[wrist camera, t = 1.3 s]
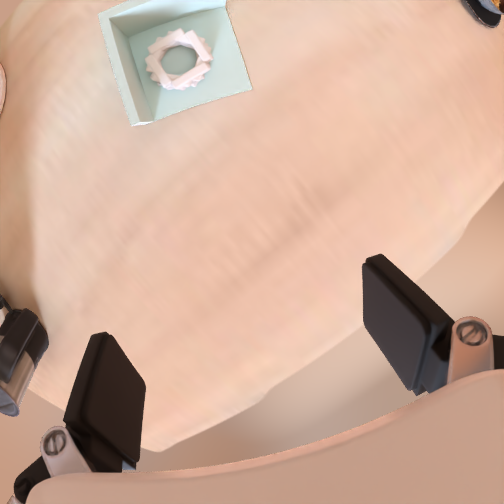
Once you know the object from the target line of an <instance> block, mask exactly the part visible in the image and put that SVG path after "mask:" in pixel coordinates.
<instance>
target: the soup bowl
mask: <svg viewBox="0 0 504 504" xmlns="http://www.w3.org/2000/svg"><path fill="white" fill-rule="evenodd" d="M466 2H467V3H468V5H469V6H470V8H471V9H472V10H473V12H474V13H475V15H476V16H477V18H478V19H479V20H480V21H481V22H483V23H484V24H486V25H487V26H489V27H491V28H495V27H497V26H498V25H499V23H500V20H501V14H503V15H504V0H466Z"/></svg>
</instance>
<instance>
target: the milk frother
mask: <svg viewBox="0 0 504 504" xmlns="http://www.w3.org/2000/svg"><path fill="white" fill-rule="evenodd" d="M3 306H5V307H6V308H7V310H8V311H9V312H8V313H7V315H6V317H5V320H4V322H3V323H2V325H1V327H0V412H1V413H3V414H5V415H8V416H12V417H14V416H18V415H19V407H20V404H21V402H22V399H23V397H24V395H25V392H26V390H27V388H28V385H29V383H30V381H31V378H32V376H33V373H34V371H35V369H36V367H37V365H38V362H39V360H40V359H41V357H42V356H43V354H44V352H45V351H46V350H47V348H48V345H49V341H48V337H47V334H46V332H45V330H44V329H43V327H42V326H41V325H40V324H39V323H38V317H37V316H36V315H35V314H34V313H33V312H32V311H30V310H29V309H27V308H25V309H24V310H23V311H20V310H12V309H11V307H10V306H9V304H8V303H7V302H6V301H5V299H4V298H3V297H2V295H1V294H0V309H2V308H3Z"/></svg>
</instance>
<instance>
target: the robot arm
mask: <svg viewBox="0 0 504 504" xmlns="http://www.w3.org/2000/svg"><path fill="white" fill-rule="evenodd" d="M5 93H6V78H5V73H4V69H3V67H2V65H1V63H0V114H1V111H2V108H3V104H4V100H5ZM362 279H363V322H364V325H365V328H366V329H367V330H368V332H369V334H370V335H371V336H372V338H373V339H374V341H375V342H376V344H377V345H378V346H379V348H380V350H381V351H382V352H383V354H384V355H385V357H386V358H387V360H388V361H389V363H390V364H391V366H392V367H393V369H394V370H395V372H396V373H397V375H398V376H399V378H400V379H401V381H402V382H403V384H404V385H405V387H406V388H407V390H410V391H411V390H413V392H414V393H415V395H416V396H418V395H420V394H421V393H423V392H425V391H427V392H428V393H429V394H427V395H426V396H424V397H422V398H420V399H418V400H416V401H414V402H412V403H410V404H408V405H406V406H404V407H401V408H399V409H397V410H395V411H393V412H391V413H389V414H386V415H384V416H382V417H379V418H377V419H375V420H373V421H370V422H368V423H365V424H363V425H361V426H358V427H355V428H353V429H350V430H348V431H345V432H343V433H340V434H337V435H334V436H331V437H328V438H325V439H323V440H319V441H316V442H313V443H310V444H307V445H304V446H300V447H296V448H293V449H289V450H286V451H282V452H278V453H274V454H271V455H266V456H262V457H257V458H253V459H248V460H243V461H238V462H233V463H227V464H221V465H214V466H208V467H200V468H193V469H183V470H172V471H158V472H133V473H122V469H123V470H136V462H138V461H139V459H140V445H141V432H142V421H143V410H144V401H145V392H146V385H145V382H144V380H143V379H142V377H141V376H140V375H139V373H138V372H137V371H136V369H135V368H134V366H133V365H132V363H131V362H130V361H129V359H128V358H127V356H126V355H125V353H124V352H123V350H122V349H121V347H120V346H119V344H118V343H117V341H116V340H115V338H114V337H113V336H112V335H109V334H108V333H107V332H102V333H97V334H93V335H92V336H91V338H90V340H89V343H88V346H87V348H86V351H85V354H84V356H83V359H82V362H81V365H80V368H79V370H78V373H77V376H76V379H75V382H74V385H73V388H72V392H71V395H70V398H69V401H68V405H67V408H66V411H65V415H64V418H63V421H64V422H65V423H66V427H65V428H64V427H62V426H54V427H52V428H50V429H48V430H47V431H46V433H45V434H44V435H43V437H42V439H41V442H40V451H41V454H42V456H41V457H39V458H38V459H37V460H36V461H35V462H34V463H32V464H31V465H30V466H29V467H28V468H27V469H25V470H24V471H23V472H22V473H21V474H20V475H19V476H18V477H17V478H16V480H15V483H14V493H15V497H14V496H13V495H12V496H11V498H10V499H9V501H8V503H7V504H504V336H498V335H492V331H491V328H490V327H489V325H488V324H487V323H486V322H485V321H484V320H482V319H480V318H477V317H472V316H469V317H463V318H460V319H459V320H457V321H456V322H454V320H453V319H452V318H451V317H449V315H448V314H447V313H445V312H444V310H443V309H441V307H439V306H438V305H437V304H436V303H435V302H434V301H433V300H432V299H431V298H430V297H429V296H428V295H427V294H426V293H425V292H424V291H423V290H422V289H421V288H420V287H419V286H417V285H416V284H415V283H414V282H413V281H412V280H411V279H410V278H408V277H407V276H406V275H405V274H404V273H403V272H402V271H401V270H400V269H398V268H397V267H396V266H395V265H394V264H393V263H392V262H391V261H389V260H388V259H387V258H386V257H385V256H384V255H382V254H378V255H375V256H372V257H369V258H367V259H366V262H365V263H364V264H363V265H362Z"/></svg>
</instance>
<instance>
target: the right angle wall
mask: <svg viewBox="0 0 504 504" xmlns="http://www.w3.org/2000/svg"><path fill="white" fill-rule="evenodd" d="M225 4H226V0H128V1H125V2H123V3H121V4H118V5H116V6H114V7H111V8H109V9H107V10H105V11H103V12H101V13H99V14H98V18H99V22H100V26H101V29H102V33H103V37H104V41H105V44H106V48H107V52H108V55H109V59H110V62H111V65H112V69H113V72H114V75H115V79H116V82H117V85H118V88H119V92H120V95H121V98H122V101H123V104H124V107H125V110H126V113H127V116H128V119H129V122H130V125H131V126H134V125H145V124H149V123H151V122H154V121H157V120H159V119H162V118H164V117H167V116H169V115H172V114H175V113H178V112H180V111H183V110H186V109H189V108H192V107H195V106H198V105H201V104H204V103H207V102H210V101H213V100H217V99H220V98H223V97H227V96H230V95H234V94H237V93H241V92H245V91H248V90H252V86H251V83H250V80H249V76H248V73H247V70H246V67H245V64H244V61H243V58H242V55H241V52H240V49H239V46H238V43H237V40H236V37H235V34H234V31H233V28H232V25H231V22H230V19H229V16H228V14H227V11H226V8H225Z"/></svg>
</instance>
